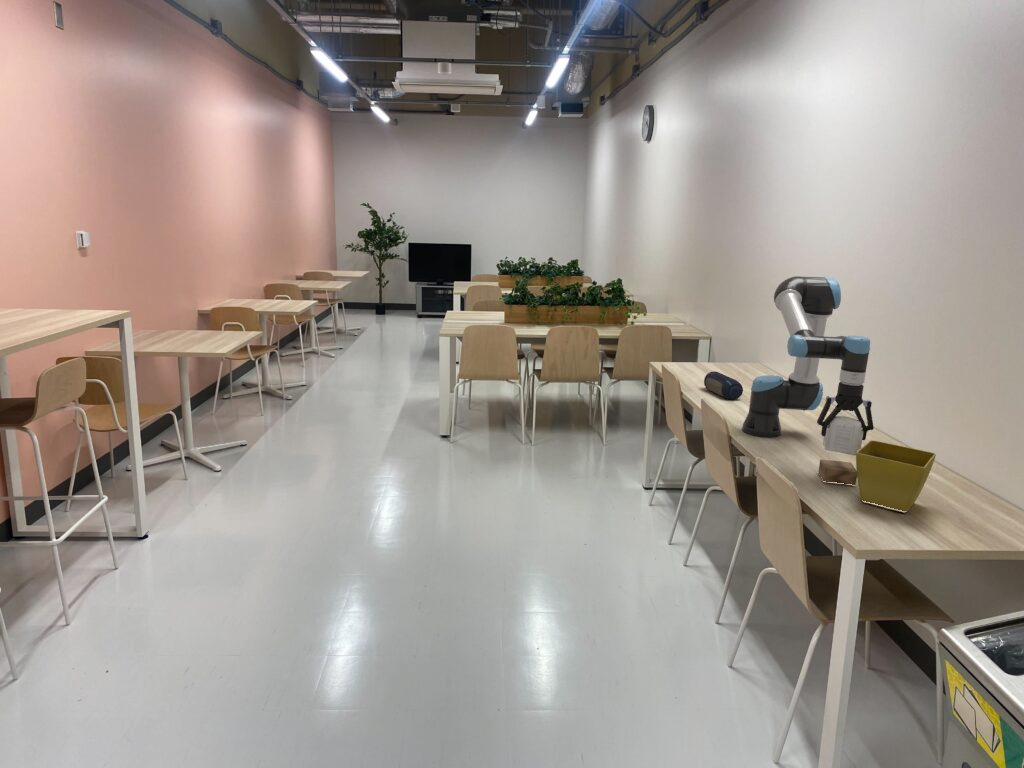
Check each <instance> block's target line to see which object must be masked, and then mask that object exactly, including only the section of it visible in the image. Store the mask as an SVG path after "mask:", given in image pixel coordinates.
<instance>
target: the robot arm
mask: <svg viewBox="0 0 1024 768" xmlns="http://www.w3.org/2000/svg"><path fill="white" fill-rule="evenodd" d="M841 291H842V290H841V286H840V283H839V281H838V280H837V279H835V278H831V277H825V276H823V277H822V276H820V277H819V276H798V275H797V276H791V277H788V278H787V279H784V280H783V281H782V282H780V283H779V284H778V286H777V287H776V289H775V291H774V293H773V294H774V295H773V302H774V304H775V307H776V308H777V310H778V311H780V312H781V315H782V318H783V320H784V324H785V326H786V328H787V331H788V333H789V338H788V341H787V354H788V355H789V356H790V357H795V363H794V367H793V372H792V373H790V374H789V375H788V378H787V380H785V379H784V378H783V377H782V376H781V375H774V374H773V375H772V374H766V375H760V376H756V377H755V378H754V379H753V380H752V384H751V388H750V391H751V392H750V399H749V400H750V401H749V406H748V407H749V409H748V412H747V415H746V417H745V419H744V421H743V423H742V427H741V430H742V431H743V432H744V433H746V434H748V435H752V436H754V437H755V436H756V437H760V438H761V437H762V438H776V437H779V436H781V435H782V426H781V422H780V415H779V414H780V409H781V410H783V409H784V410H793V411H794V410H796V411H803V412H805V411H814V410H816V409H817V408H818V407H819V406H820V404H821V402H822V401H823V400H822V399H823V395H824V392H823V391H824V387H823V386H824V385H823V384H822V383H821V382H820V378H819V377H818V375H817V374H818V368H819V364H820V359H827V360H840V361H841V366H840V374H839V382H838V386H837V393H836V395H835V396H834V397H833V396H829V395H828V396H826V397H825V403H824V406H823V407H822V409H821V412H820V414H819V415H818V418H817V420H816V423H817V425H819V426H821V431H820V434H821V436H822V437H823V441H822V445H823V447H824V448H825V447H827V441H828V434H829V427H828V425H829V424H830V423H831V421H832V420H833V419H834V418H835V417H836V416H838V414H839V413H841V412H842V411H845V412H846V411H849V412H854V414H855V416H856V418H857V420H859V421H860V422H861V425H862V430H861V436H860V442H859V447H858V450H859V449H861V448H862V446H863V445H862V444H863V443H862V442H863V441H865V440H866V438H867V435H868V434H867V433H868V432H869V431H873V430H874V429H875V427H874V421H873V415H872V405H873V402H872V401H871V400H870V399H863V392H864V387H865V386H864V383H865V380H866V373H867V367H868V360H869V357H870V356H869V355H870V351H871V347H870V346H871V339H870V338H869V337H866V336H863V335H848V336H845V335H837V336H825V331H826V327H827V320H828V318H829V317H830V316H832V315H833V312H834V310H836V309H839V307H840V305H841V301H842V292H841ZM834 402H835V403H836V405H835V406H834V408H833V410H832V411H831V412H830V413H829V415H828V412H829V411H830V408H831V405H832V404H834ZM862 404H863V406H864V409H865V416H866V422H867V425H866V423H865V420H864V419H863V416H862V414H861V412H860V409H859V408H860V406H862ZM827 415H828V416H827Z"/></svg>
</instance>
